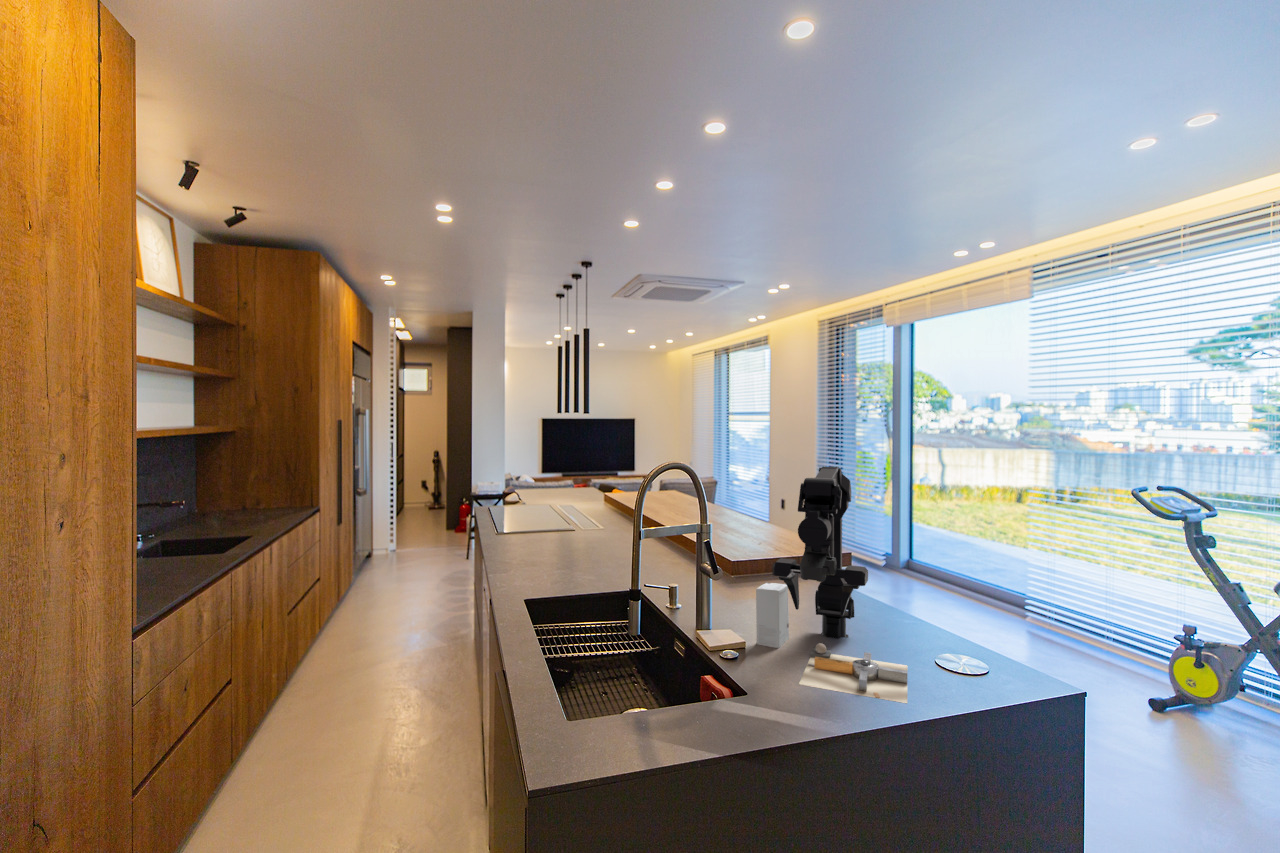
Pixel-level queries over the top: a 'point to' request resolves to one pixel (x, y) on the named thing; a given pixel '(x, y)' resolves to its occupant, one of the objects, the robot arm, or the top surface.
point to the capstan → (862, 670)
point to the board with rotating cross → (852, 678)
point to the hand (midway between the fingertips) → (819, 612)
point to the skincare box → (772, 614)
